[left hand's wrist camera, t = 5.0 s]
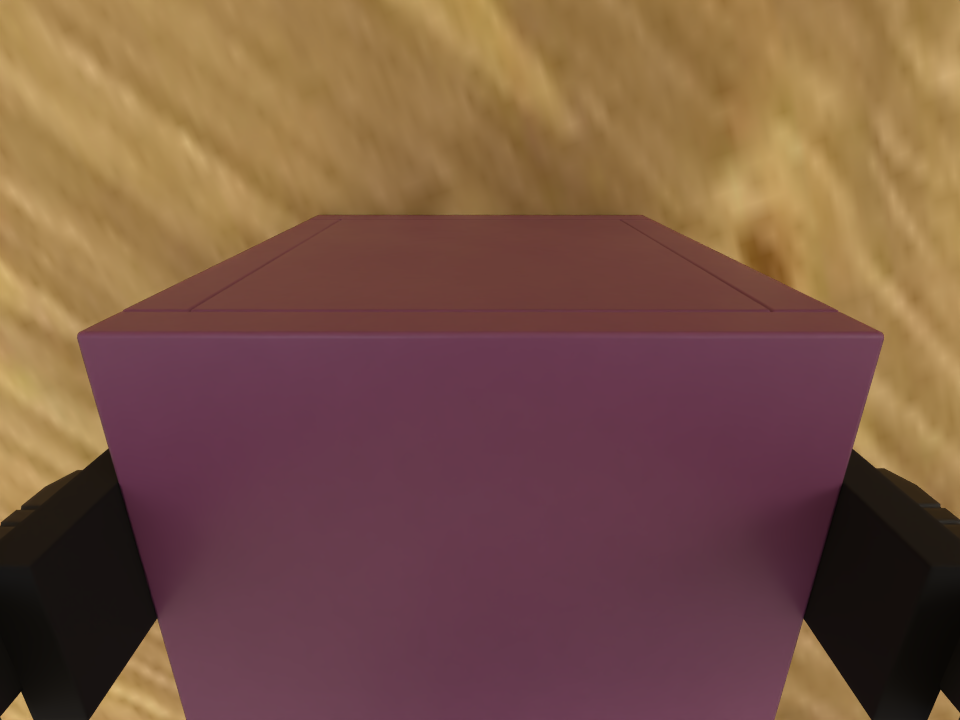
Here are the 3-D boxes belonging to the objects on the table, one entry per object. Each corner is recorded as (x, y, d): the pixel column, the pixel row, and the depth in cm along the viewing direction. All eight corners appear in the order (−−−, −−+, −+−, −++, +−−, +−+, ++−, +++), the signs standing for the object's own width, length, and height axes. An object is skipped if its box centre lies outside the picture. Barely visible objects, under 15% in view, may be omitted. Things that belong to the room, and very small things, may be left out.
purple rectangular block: (597, 648, 26) (685, 1034, 15) (363, 648, 26) (274, 1034, 15) (643, 215, 19) (888, 333, 7) (317, 215, 19) (72, 333, 7)
